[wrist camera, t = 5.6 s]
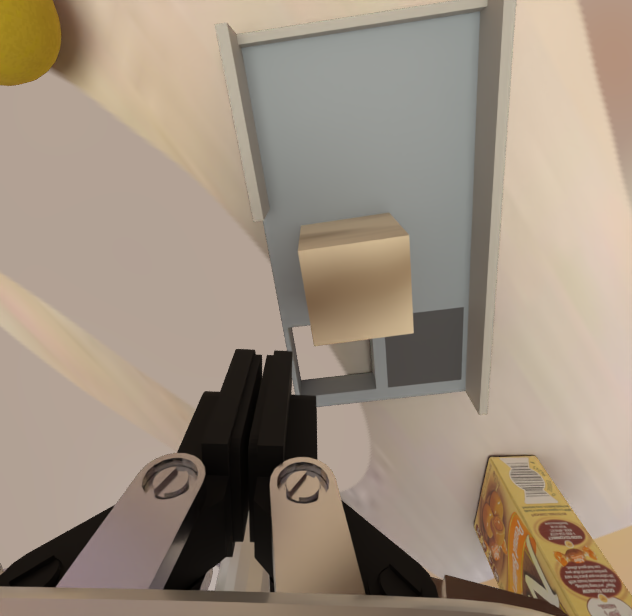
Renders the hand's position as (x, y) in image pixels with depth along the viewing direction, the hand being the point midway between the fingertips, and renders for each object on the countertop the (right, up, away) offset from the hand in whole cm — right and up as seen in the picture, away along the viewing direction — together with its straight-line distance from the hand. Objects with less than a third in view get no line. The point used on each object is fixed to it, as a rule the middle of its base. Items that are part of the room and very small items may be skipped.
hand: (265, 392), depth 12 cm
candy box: (+18, -13, +23) cm, 32 cm away
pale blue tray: (+5, +7, +13) cm, 15 cm away
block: (+4, +5, +11) cm, 13 cm away
